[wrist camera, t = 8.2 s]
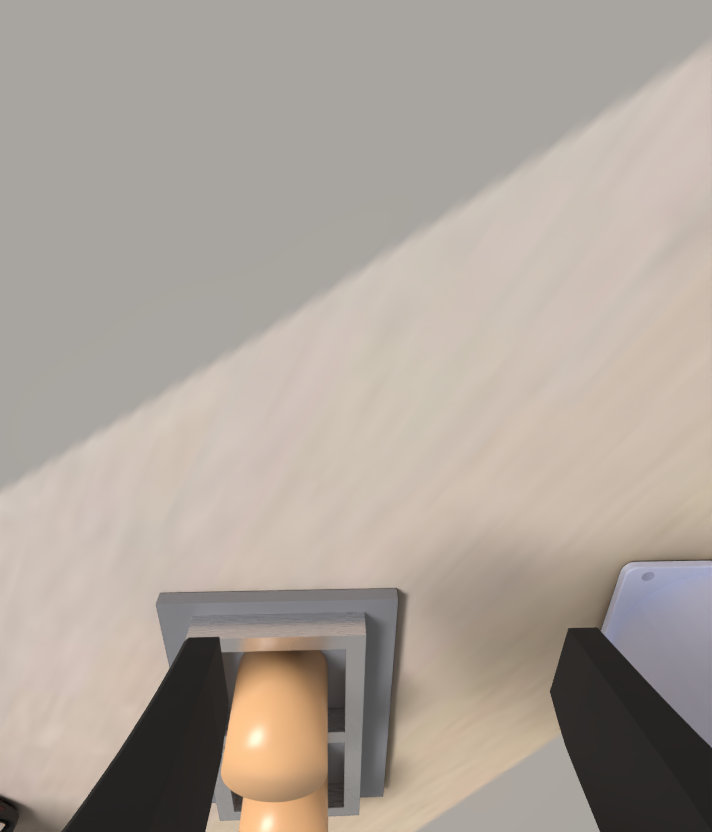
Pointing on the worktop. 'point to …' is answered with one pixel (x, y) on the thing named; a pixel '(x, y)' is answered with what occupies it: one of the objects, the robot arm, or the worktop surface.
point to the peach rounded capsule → (278, 726)
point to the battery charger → (8, 817)
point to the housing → (347, 684)
